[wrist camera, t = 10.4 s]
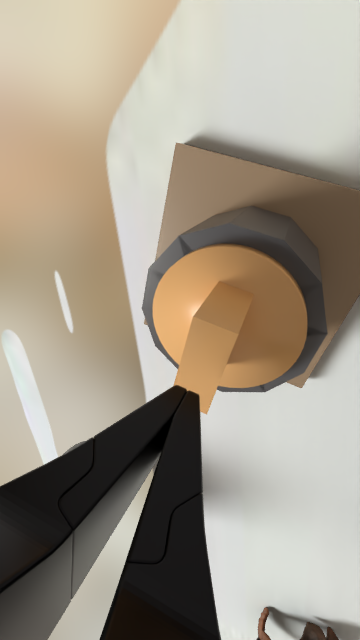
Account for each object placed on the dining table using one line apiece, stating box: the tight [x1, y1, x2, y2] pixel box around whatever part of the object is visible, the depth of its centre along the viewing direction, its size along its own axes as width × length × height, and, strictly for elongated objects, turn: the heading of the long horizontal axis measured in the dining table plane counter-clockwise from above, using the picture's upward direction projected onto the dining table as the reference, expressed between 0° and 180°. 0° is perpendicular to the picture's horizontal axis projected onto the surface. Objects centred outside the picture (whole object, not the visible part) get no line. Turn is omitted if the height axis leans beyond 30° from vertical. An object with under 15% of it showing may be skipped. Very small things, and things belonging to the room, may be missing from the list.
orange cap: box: [153, 244, 307, 414], centre depth 13 cm, size 7×7×6 cm
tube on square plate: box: [142, 143, 360, 392], centre depth 17 cm, size 13×13×7 cm
